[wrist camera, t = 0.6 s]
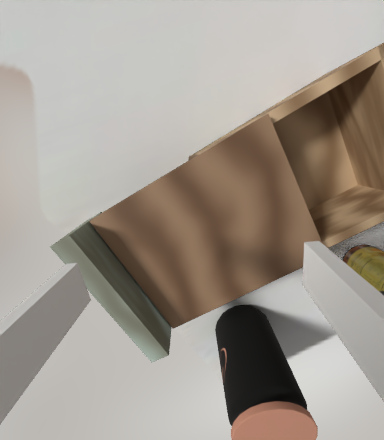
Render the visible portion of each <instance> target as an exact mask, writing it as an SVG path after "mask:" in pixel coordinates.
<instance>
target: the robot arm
mask: <svg viewBox="0 0 384 440" xmlns="http://www.w3.org/2000/svg"><path fill="white" fill-rule="evenodd" d="M302 285H303V286H304V288H305V289H306V291H307V292H308V293H309V295H310V296H311V298H312V299H313V301H314V302H315V304H316V305H317V306H318V308H319V309H320V311H321V312H322V314H323V315H324V316H325V318H326V319H327V321H328V322H329V324H330V325H331V327H332V328H333V329H334V331H335V332H336V334H337V335H338V336H339V338H340V339H341V341H342V342H343V343H344V345H345V347H346V348H347V349H348V351H349V352H350V354H351V355H352V357H353V358H354V360H355V361H356V362H357V364H358V365H359V366H360V368H361V370H362V371H363V373H364V374H365V375H366V377H367V378H368V380H369V381H370V383H371V384H372V385H373V387H374V388H375V390H376V391H377V393H378V394H379V396H380V397H381V398H382V400H383V401H384V291H378V290H377V289H375V288H374V287H373V286H372V285H371V284H369V283H368V282H367V281H366V280H365V279H364V278H362V277H361V276H360V275H359V274H358V273H356V272H355V271H354V270H353V269H352V268H351V267H349V266H348V265H347V264H346V263H345V262H343V261H342V260H341V259H340V258H339V257H338V256H336V255H335V254H334V253H333V252H332V251H330V250H329V249H328V248H327V247H326V246H325V245H323V244H322V243H321V242H320V241H312V242H304V260H303V282H302ZM90 300H91V299H90V297H89V294H88V291H87V288H86V285H85V282H84V279H83V276H82V274H81V271H80V268H79V265H78V263H71V264H65V265H64V266H63V267H62V268H61V269H59V270H58V271H57V272H56V273H55V274H54V275H53V276H51V277H50V278H49V279H48V280H47V281H46V282H44V283H43V284H42V285H41V286H40V287H39V288H37V289H36V290H35V291H34V292H33V293H32V294H31V295H29V296H28V297H27V298H26V299H25V300H24V301H22V302H21V303H20V304H19V305H18V306H17V307H16V308H14V309H13V310H12V311H11V312H10V313H9V314H8V315H6V316H5V317H4V318H3V319H2V320H1V321H0V424H1V423H2V421H3V420H4V418H5V417H6V416H7V414H8V413H9V411H10V410H11V409H12V408H13V406H14V405H15V403H16V402H17V401H18V399H19V398H20V396H21V395H22V394H23V392H24V391H25V389H26V388H27V387H28V386H29V384H30V383H31V381H32V380H33V379H34V377H35V376H36V375H37V373H38V372H39V370H40V369H41V368H42V366H43V365H44V363H45V362H46V361H47V360H48V358H49V357H50V355H51V354H52V352H53V351H54V350H55V349H56V347H57V346H58V344H59V343H60V342H61V340H62V339H63V338H64V336H65V335H66V333H67V332H68V331H69V329H70V328H71V326H72V325H73V324H74V322H75V321H76V320H77V318H78V317H79V316H80V314H81V313H82V311H83V310H84V308H85V307H86V306H87V304H88V303H89V302H90Z"/></svg>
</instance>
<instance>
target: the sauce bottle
mask: <svg viewBox="0 0 384 440" xmlns="http://www.w3.org/2000/svg"><path fill="white" fill-rule="evenodd" d="M343 262H345V263H346V264H347V265H348V266H349V267H351V268H352V269H353V270H354V271H355V272H356V273H358V274H359V275H360V276H361V277H362V278H364V279H365V280H366V281H367V282H368V283H369V284H371V285H372V286H373V287H374V288H375V289H377V290H378V291H384V252H383V251H381V250H379V249H377V248H374V247H371V246H368V245H359V246H356V247H354V248H352V249H351V250H349V251H348V252H347V253H346V255H345V256H344V259H343Z"/></svg>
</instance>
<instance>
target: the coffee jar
mask: <svg viewBox="0 0 384 440" xmlns="http://www.w3.org/2000/svg"><path fill="white" fill-rule="evenodd" d="M215 331H216V338H217V344H218V351H219V358H220V365H221V372H222V378H223V385H224V392H225V398H226V405H227V412H228V417H229V422H230V424H231V426H232V429H231V438H232V440H316V438H317V425H316V423H315V421H314V420H313V418H312V416H311V414H310V412H308V411H307V404H306V401H305V399H304V397H303V395H302V392H301V390H300V388H299V386H298V384H297V381H296V379H295V377H294V375H293V373H292V371H291V368H290V366H289V364H288V362H287V360H286V358H285V355H284V353H283V351H282V349H281V347H280V345H279V343H278V340H277V338H276V336H275V334H274V332H273V330H272V327H271V325H270V323H269V321H268V319H267V317H266V315H264V314H263V313H262V312H261V311H260V310H258V309H256V308H253V307H251V306H245V305H240V306H234V307H232V308H230V309H228V310H227V311H225V312H224V313H223V314H222V315H221V317H220V318H219V320H218V321H217V324H216V329H215Z"/></svg>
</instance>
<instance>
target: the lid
mask: <svg viewBox="0 0 384 440" xmlns="http://www.w3.org/2000/svg"><path fill="white" fill-rule="evenodd" d="M312 241H320V242H321V243H322V241H321V239H320V236H319V234H318V232H317V229H316V227H315V224H314V222H313V220H312V217H311V215H310V212H309V210H308V208H307V205H306V203H305V200H304V198H303V196H302V193H301V191H300V188H299V186H298V184H297V181H296V179H295V176H294V174H293V172H292V169H291V167H290V164H289V162H288V160H287V157H286V155H285V152H284V150H283V148H282V145H281V143H280V140H279V138H278V135H277V133H276V131H275V128H274V126H273V123H272V121H271V119H270V116H269V114H266V115H264V116H262V117H261V118H259V119H257V120H256V121H254V122H252V123H251V124H249V125H247V126H246V127H244V128H242V129H241V130H239V131H237V132H236V133H234V134H232V135H231V136H229V137H227V138H226V139H224V140H222V141H221V142H219V143H217V144H216V145H214V146H212V147H211V148H209V149H207V150H206V151H204V152H202V153H201V154H199V155H197V156H196V157H194V158H192V159H191V160H189V161H187V162H186V163H184V164H182V165H181V166H179V167H177V168H176V169H174V170H172V171H171V172H169V173H167V174H166V175H164V176H162V177H161V178H159V179H157V180H156V181H154V182H153V183H151V184H149V185H148V186H146V187H144V188H143V189H141V190H139V191H138V192H136V193H134V194H133V195H131V196H129V197H128V198H126V199H124V200H123V201H121V202H119V203H118V204H116V205H114V206H113V207H111V208H109V209H108V210H106V211H104V212H103V213H102V212H100V213H99V214H97V215H95V216H94V217H92V218H90V219H89V220H87V221H86V222H84V223H83V224H82V225H80V226H79V227H77V228H76V229H74V230H73V231H72V232H70V233H69V234H67V235H66V236H65V237H63V238H62V239H60V240H59V241H58V242H56V243H55V244H53V245H52V246H51V249H52V250H53V251H54V252H55V253H56V254H57V255H58V257H59V258H60V259H61V260H62V261H63V262H64V263H65V264H71V263H78V265H79V268H80V271H81V274H82V276H83V279H84V282H85V285H86V288H87V289H88V291H90V293H91V294H92V295H93V296H94V297H95V298H96V300H97V301H98V302H99V303H100V304H101V305H102V306H103V307H104V308H105V310H106V311H107V312H108V313H109V314H110V316H111V317H112V318H113V319H114V320H115V321H116V322H117V323H118V324H119V326H120V327H121V328H122V329H123V330H124V331H125V333H126V334H127V335H128V336H129V337H130V338H131V339H132V341H133V342H134V343H135V344H136V345H137V346H138V347H139V348H140V350H141V351H142V352H143V353H144V354H145V355H146V356H147V357H148V359H149V360H150V361H151V362H155V361H157V360H159V359H161V358H163V357H165V356H168V355H169V348H170V337H171V327H172V328H176V327H178V326H180V325H182V324H184V323H186V322H188V321H190V320H192V319H195V318H197V317H199V316H201V315H203V314H205V313H207V312H209V311H211V310H214V309H216V308H218V307H220V306H222V305H224V304H226V303H228V302H230V301H233V300H235V299H237V298H239V297H241V296H243V295H245V294H247V293H249V292H252V291H254V290H256V289H258V288H260V287H262V286H264V285H266V284H268V283H271V282H273V281H275V280H277V279H279V278H281V277H283V276H285V275H287V274H290V273H292V272H294V271H296V270H298V269H300V268H302V267H303V260H304V242H312Z"/></svg>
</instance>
